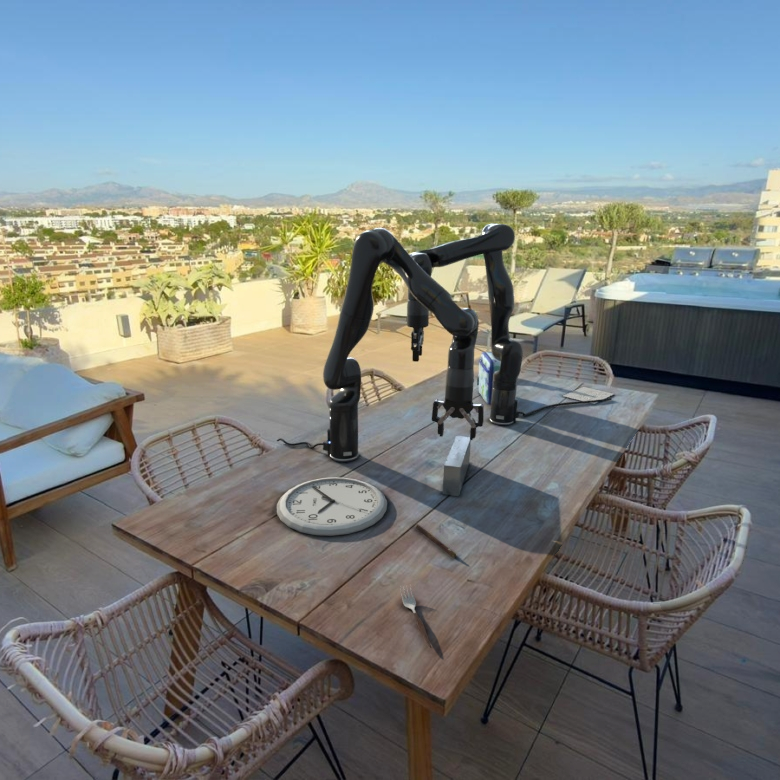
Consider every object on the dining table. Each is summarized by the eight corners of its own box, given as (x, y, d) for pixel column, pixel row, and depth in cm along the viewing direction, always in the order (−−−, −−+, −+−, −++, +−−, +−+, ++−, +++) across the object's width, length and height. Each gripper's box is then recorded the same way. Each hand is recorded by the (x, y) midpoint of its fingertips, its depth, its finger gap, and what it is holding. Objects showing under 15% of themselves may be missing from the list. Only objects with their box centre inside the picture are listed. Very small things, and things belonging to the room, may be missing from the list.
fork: (423, 651, 94) (424, 642, 93) (398, 593, 109) (398, 585, 108) (437, 648, 95) (437, 639, 94) (410, 591, 109) (411, 583, 109)
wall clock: (392, 527, 129) (268, 531, 127) (391, 533, 130) (269, 537, 127) (383, 473, 158) (282, 475, 155) (383, 478, 158) (282, 480, 156)
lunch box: (475, 390, 246) (478, 346, 240) (498, 390, 246) (501, 347, 240) (484, 408, 221) (487, 360, 215) (509, 409, 221) (513, 360, 215)
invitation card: (583, 386, 254) (614, 393, 243) (583, 387, 254) (614, 394, 244) (562, 395, 239) (594, 403, 229) (562, 396, 239) (594, 404, 229)
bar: (454, 461, 171) (456, 435, 168) (469, 463, 170) (470, 437, 167) (442, 494, 150) (444, 465, 147) (458, 496, 149) (460, 467, 146)
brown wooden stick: (415, 527, 132) (415, 524, 132) (417, 527, 133) (417, 523, 132) (454, 558, 121) (454, 554, 120) (455, 557, 121) (456, 553, 121)
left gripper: (431, 383, 141) (429, 439, 146) (484, 388, 138) (480, 445, 142) (436, 376, 148) (434, 430, 153) (487, 381, 145) (483, 435, 149)
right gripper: (426, 316, 173) (425, 363, 178) (430, 309, 186) (430, 353, 191) (403, 315, 174) (403, 363, 179) (410, 309, 187) (409, 353, 192)
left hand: (456, 437), depth 148 cm, fingers open, 8 cm apart
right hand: (417, 358), depth 185 cm, fingers open, 8 cm apart
